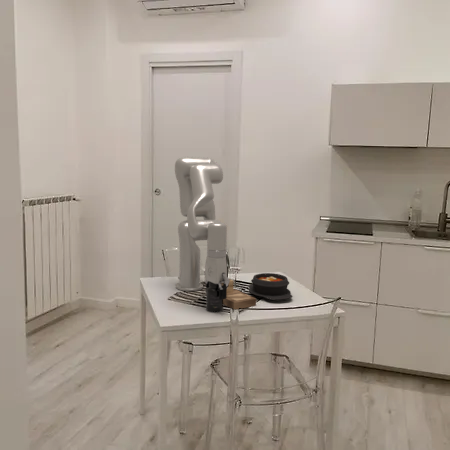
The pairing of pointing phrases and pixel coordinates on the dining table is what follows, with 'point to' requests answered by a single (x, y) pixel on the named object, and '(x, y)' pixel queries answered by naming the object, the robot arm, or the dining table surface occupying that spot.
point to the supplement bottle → (213, 298)
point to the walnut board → (239, 300)
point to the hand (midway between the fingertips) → (216, 295)
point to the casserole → (270, 286)
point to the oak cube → (230, 286)
